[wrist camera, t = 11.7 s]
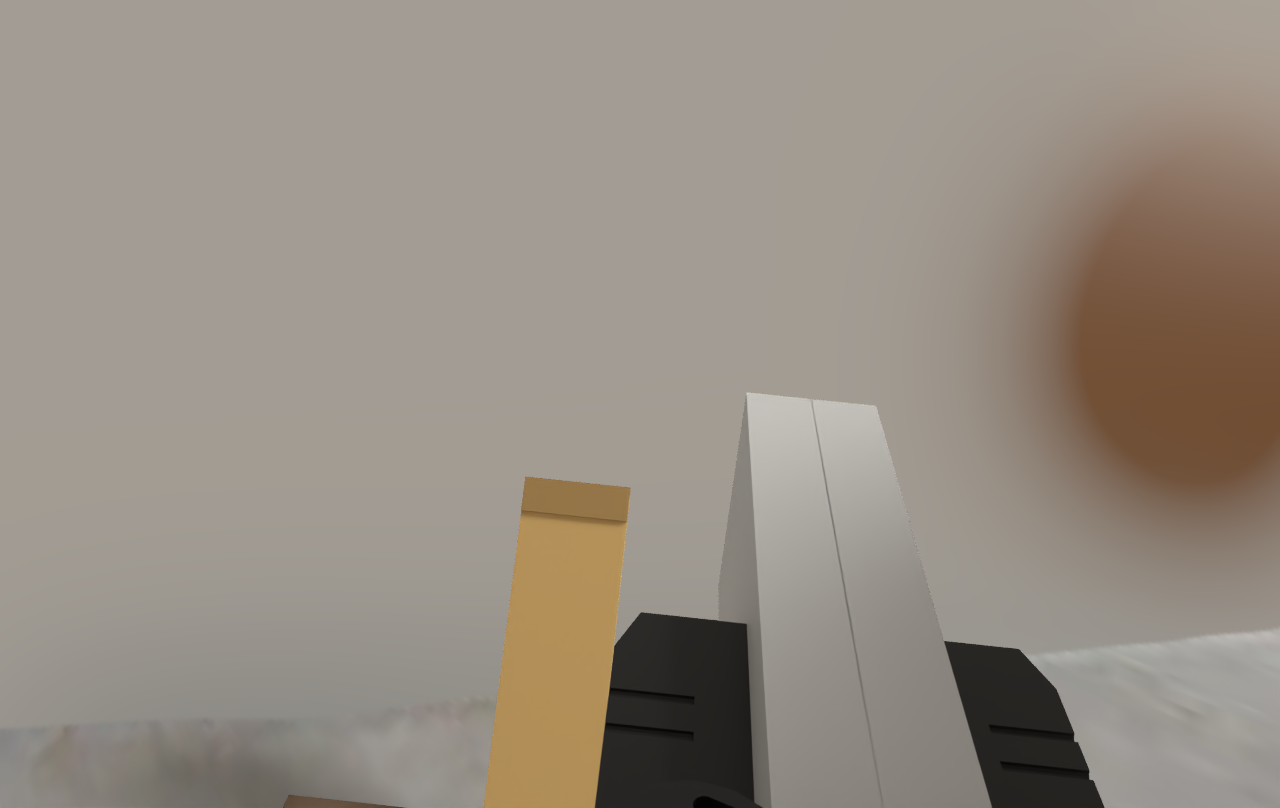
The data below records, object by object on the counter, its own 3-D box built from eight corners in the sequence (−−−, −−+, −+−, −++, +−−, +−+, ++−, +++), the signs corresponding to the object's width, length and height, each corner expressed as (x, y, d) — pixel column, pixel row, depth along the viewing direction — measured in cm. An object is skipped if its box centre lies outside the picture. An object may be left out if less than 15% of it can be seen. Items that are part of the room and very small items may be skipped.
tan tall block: (588, 888, 51) (630, 492, 55) (586, 897, 49) (630, 487, 53) (478, 876, 51) (528, 482, 55) (473, 885, 49) (525, 476, 53)
